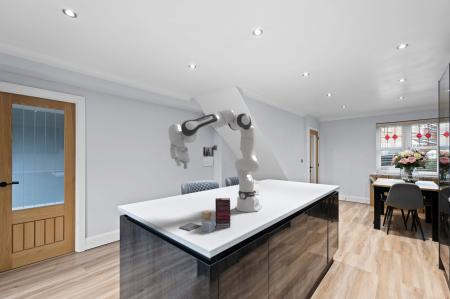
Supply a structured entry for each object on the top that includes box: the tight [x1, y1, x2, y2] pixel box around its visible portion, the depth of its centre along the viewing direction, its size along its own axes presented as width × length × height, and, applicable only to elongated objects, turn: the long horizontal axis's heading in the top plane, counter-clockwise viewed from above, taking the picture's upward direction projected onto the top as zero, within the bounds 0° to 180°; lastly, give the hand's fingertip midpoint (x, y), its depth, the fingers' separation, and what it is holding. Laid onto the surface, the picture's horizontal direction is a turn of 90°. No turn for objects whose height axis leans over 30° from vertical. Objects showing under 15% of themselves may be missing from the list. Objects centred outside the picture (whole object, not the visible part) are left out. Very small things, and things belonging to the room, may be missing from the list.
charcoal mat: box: [179, 222, 202, 232], centre depth 116 cm, size 9×8×1 cm
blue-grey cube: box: [201, 220, 216, 234], centre depth 111 cm, size 5×5×5 cm
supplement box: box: [214, 197, 231, 229], centre depth 118 cm, size 9×5×16 cm, turn 92°
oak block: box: [201, 210, 213, 223], centre depth 120 cm, size 4×4×8 cm
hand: (182, 167), depth 128 cm, fingers open, 8 cm apart
